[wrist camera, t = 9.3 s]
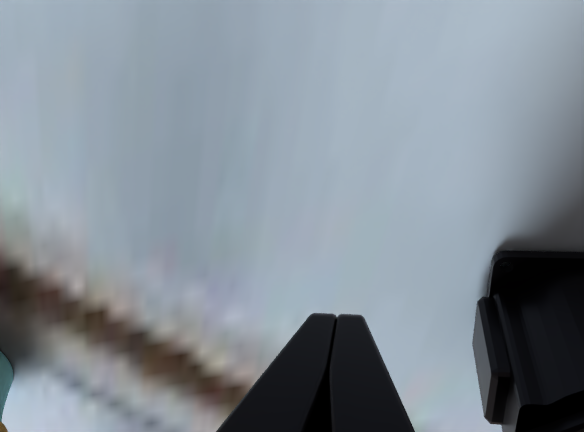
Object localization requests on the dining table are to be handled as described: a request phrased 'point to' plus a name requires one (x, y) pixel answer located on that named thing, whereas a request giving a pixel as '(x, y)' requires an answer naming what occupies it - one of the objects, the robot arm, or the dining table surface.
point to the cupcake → (4, 385)
